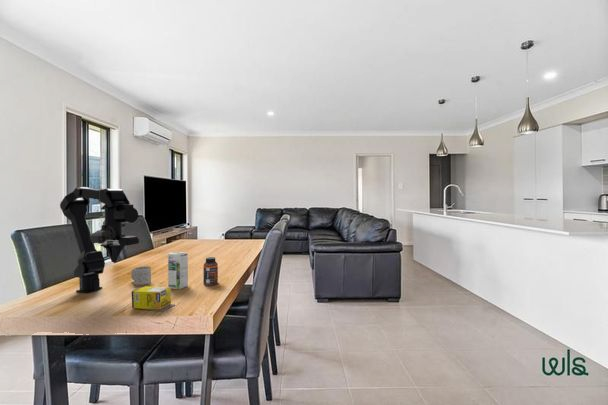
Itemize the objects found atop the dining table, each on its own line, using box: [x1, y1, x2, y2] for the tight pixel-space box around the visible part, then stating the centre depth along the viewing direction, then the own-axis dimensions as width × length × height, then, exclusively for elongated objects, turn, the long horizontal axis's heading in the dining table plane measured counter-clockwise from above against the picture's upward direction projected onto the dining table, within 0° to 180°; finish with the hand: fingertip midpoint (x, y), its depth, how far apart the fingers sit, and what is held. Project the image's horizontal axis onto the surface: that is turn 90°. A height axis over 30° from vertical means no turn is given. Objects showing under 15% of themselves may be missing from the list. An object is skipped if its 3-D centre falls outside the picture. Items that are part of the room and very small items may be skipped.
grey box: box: [130, 265, 152, 286], centre depth 140 cm, size 10×7×7 cm, turn 66°
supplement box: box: [131, 285, 172, 310], centre depth 109 cm, size 6×6×11 cm
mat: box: [137, 303, 176, 313], centre depth 109 cm, size 11×6×1 cm, turn 73°
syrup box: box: [167, 251, 189, 290], centre depth 132 cm, size 6×6×14 cm
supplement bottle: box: [202, 256, 219, 286], centre depth 137 cm, size 6×6×11 cm
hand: (113, 262), depth 122 cm, fingers closed
